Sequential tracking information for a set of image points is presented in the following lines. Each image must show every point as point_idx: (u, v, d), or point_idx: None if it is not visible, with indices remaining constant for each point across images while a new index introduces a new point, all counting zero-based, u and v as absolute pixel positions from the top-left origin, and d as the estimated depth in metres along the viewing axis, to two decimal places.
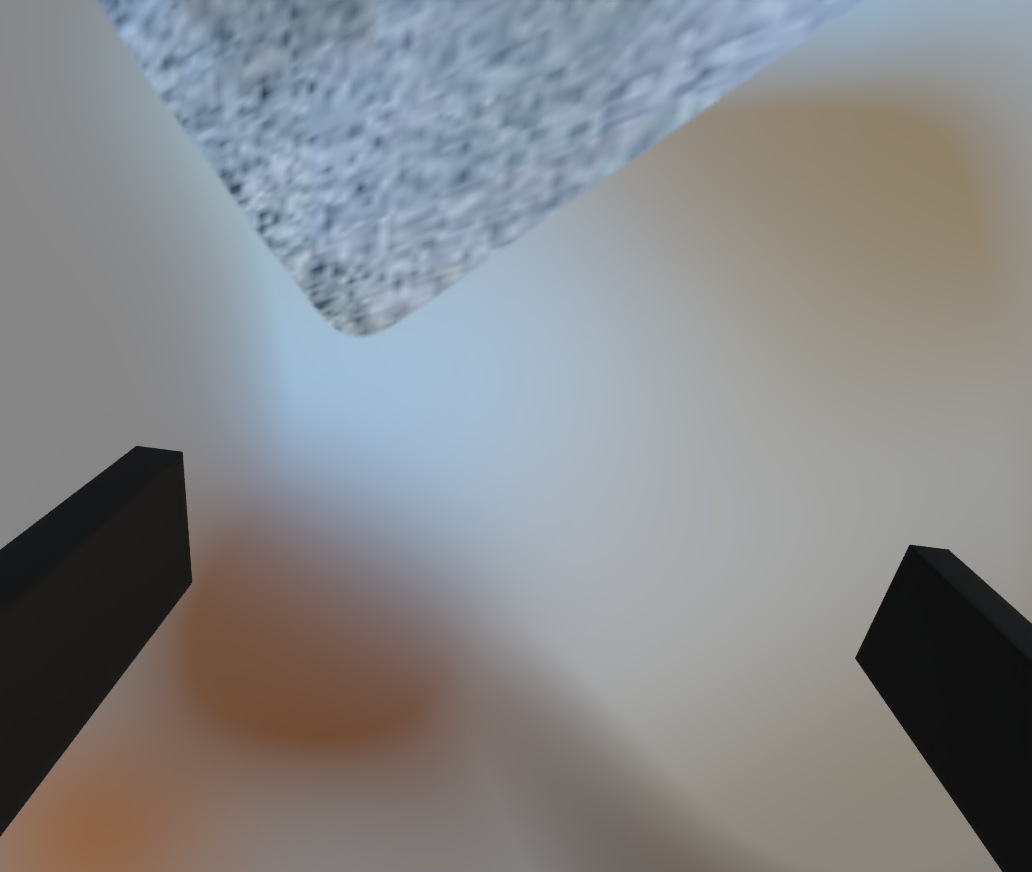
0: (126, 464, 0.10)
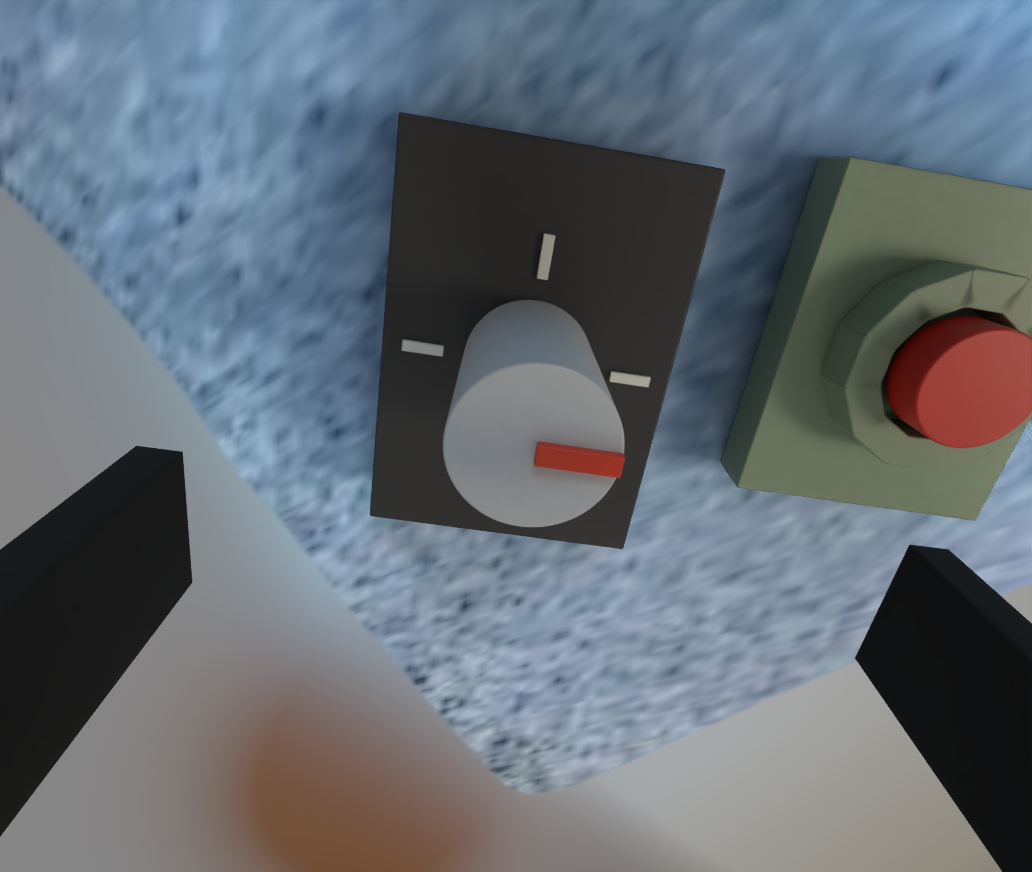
0: (126, 464, 0.10)
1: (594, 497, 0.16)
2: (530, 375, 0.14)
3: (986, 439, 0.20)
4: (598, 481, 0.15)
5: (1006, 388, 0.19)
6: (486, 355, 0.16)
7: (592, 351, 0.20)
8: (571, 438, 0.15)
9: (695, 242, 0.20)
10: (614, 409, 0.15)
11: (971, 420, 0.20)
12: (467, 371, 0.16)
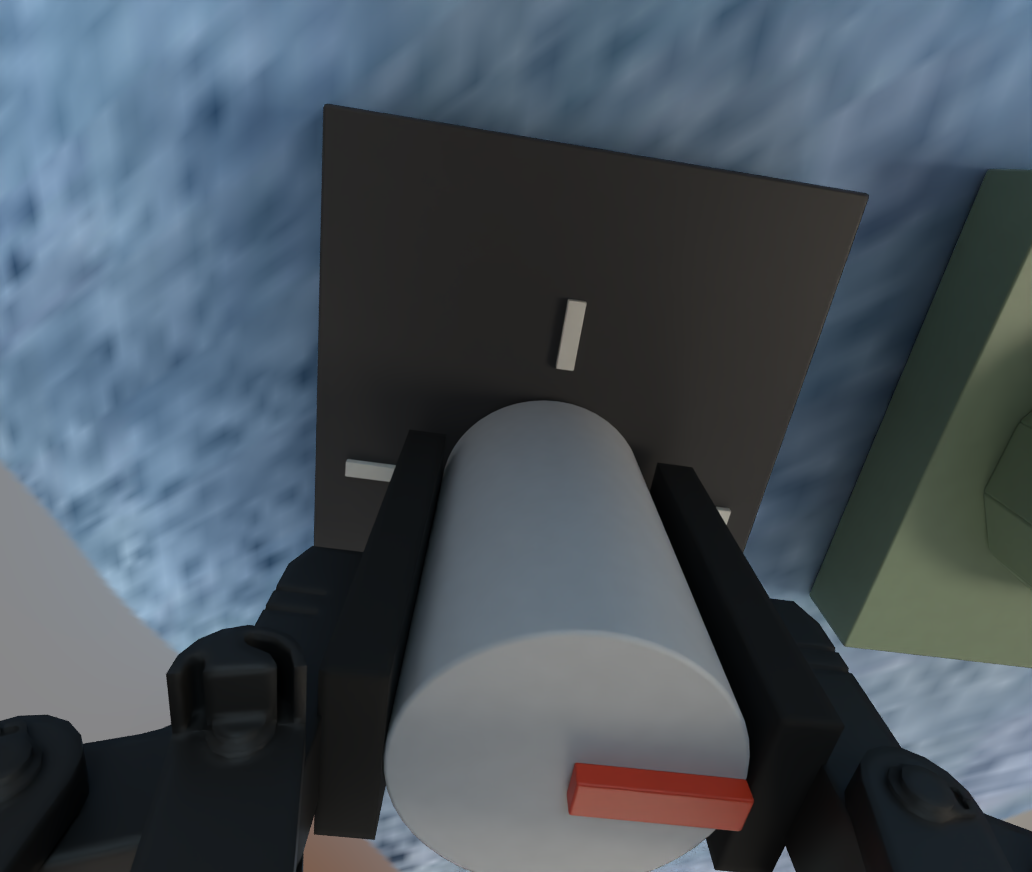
0: (414, 443, 0.12)
1: (683, 845, 0.08)
2: (562, 653, 0.07)
3: None
4: None
5: None
6: (471, 563, 0.08)
7: None
8: (643, 757, 0.07)
9: (812, 310, 0.12)
10: (735, 708, 0.07)
11: None
12: (436, 589, 0.08)
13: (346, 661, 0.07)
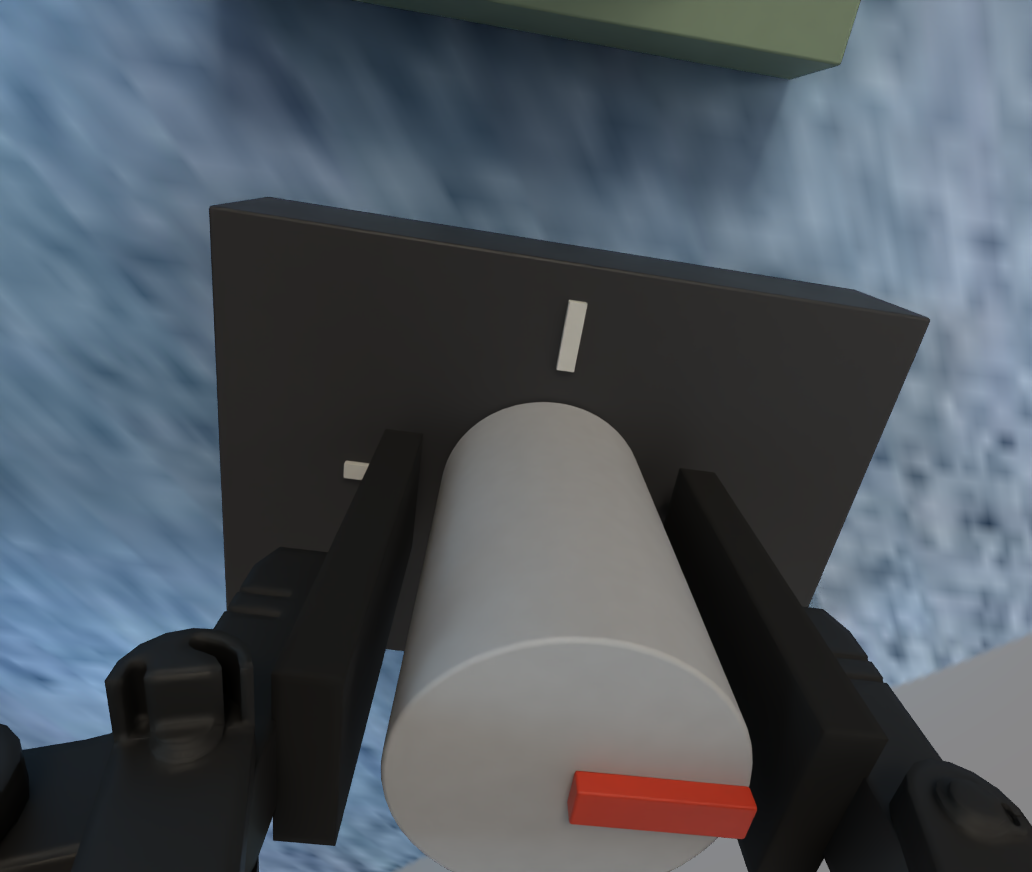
0: (389, 443, 0.12)
1: (686, 853, 0.08)
2: (561, 661, 0.07)
3: None
4: None
5: None
6: (469, 569, 0.08)
7: (649, 493, 0.12)
8: (643, 765, 0.07)
9: (329, 244, 0.12)
10: (737, 715, 0.07)
11: None
12: (433, 595, 0.08)
13: (300, 664, 0.07)
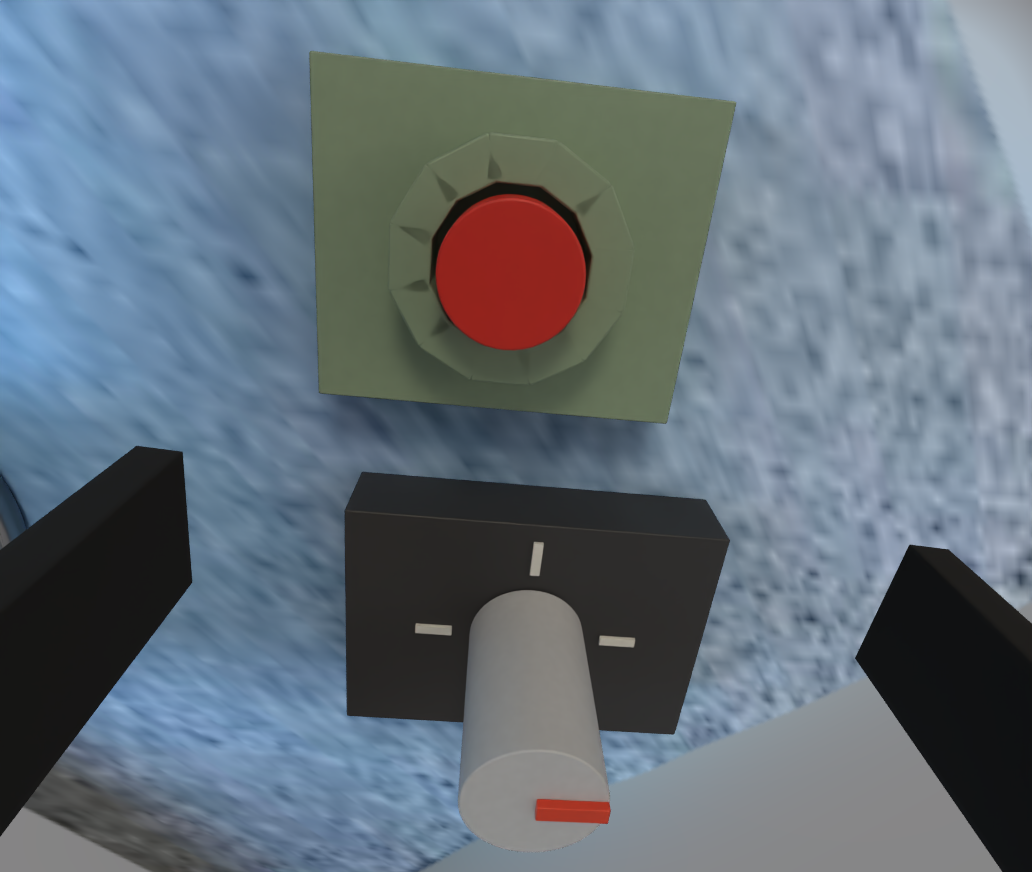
0: (126, 464, 0.10)
1: (587, 831, 0.18)
2: (527, 758, 0.17)
3: (572, 247, 0.16)
4: None
5: (505, 249, 0.16)
6: (489, 712, 0.19)
7: (581, 644, 0.22)
8: (564, 795, 0.18)
9: (407, 524, 0.22)
10: (598, 775, 0.18)
11: (548, 276, 0.16)
12: (474, 722, 0.19)
13: None
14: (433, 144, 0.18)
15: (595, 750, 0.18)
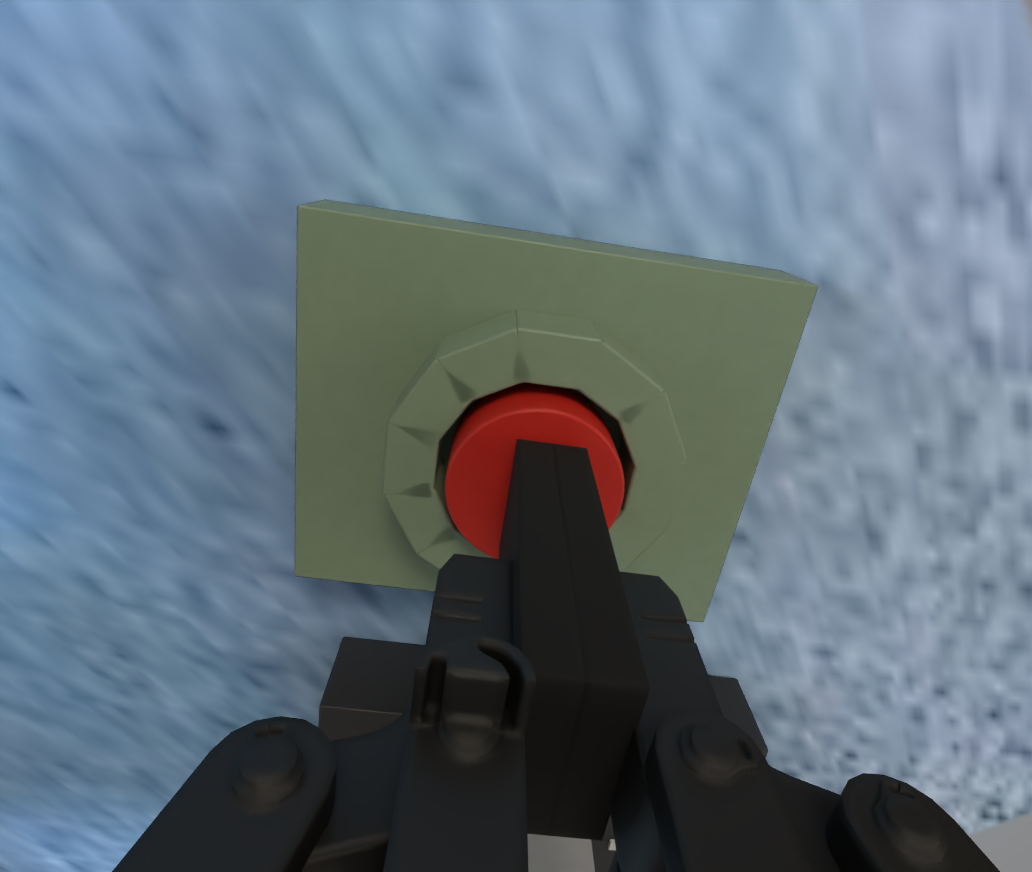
0: (526, 453, 0.12)
1: None
2: None
3: (611, 464, 0.13)
4: None
5: None
6: None
7: (591, 869, 0.19)
8: None
9: None
10: None
11: None
12: None
13: (543, 665, 0.07)
14: (445, 316, 0.15)
15: None
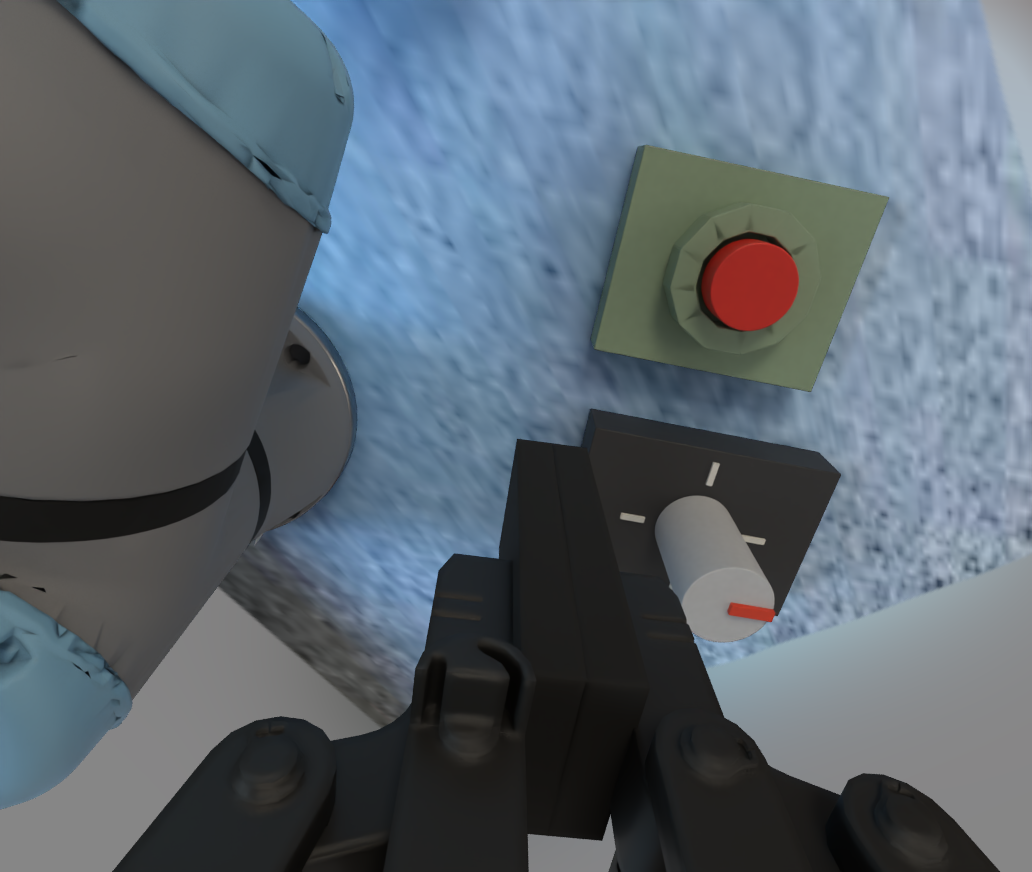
0: (526, 453, 0.12)
1: (755, 629, 0.30)
2: (732, 572, 0.29)
3: (794, 274, 0.28)
4: (758, 621, 0.30)
5: (755, 271, 0.28)
6: (699, 552, 0.30)
7: None
8: (747, 601, 0.29)
9: (633, 441, 0.34)
10: (771, 589, 0.29)
11: (776, 289, 0.28)
12: (688, 558, 0.31)
13: (543, 666, 0.07)
14: (704, 204, 0.30)
15: (766, 578, 0.30)
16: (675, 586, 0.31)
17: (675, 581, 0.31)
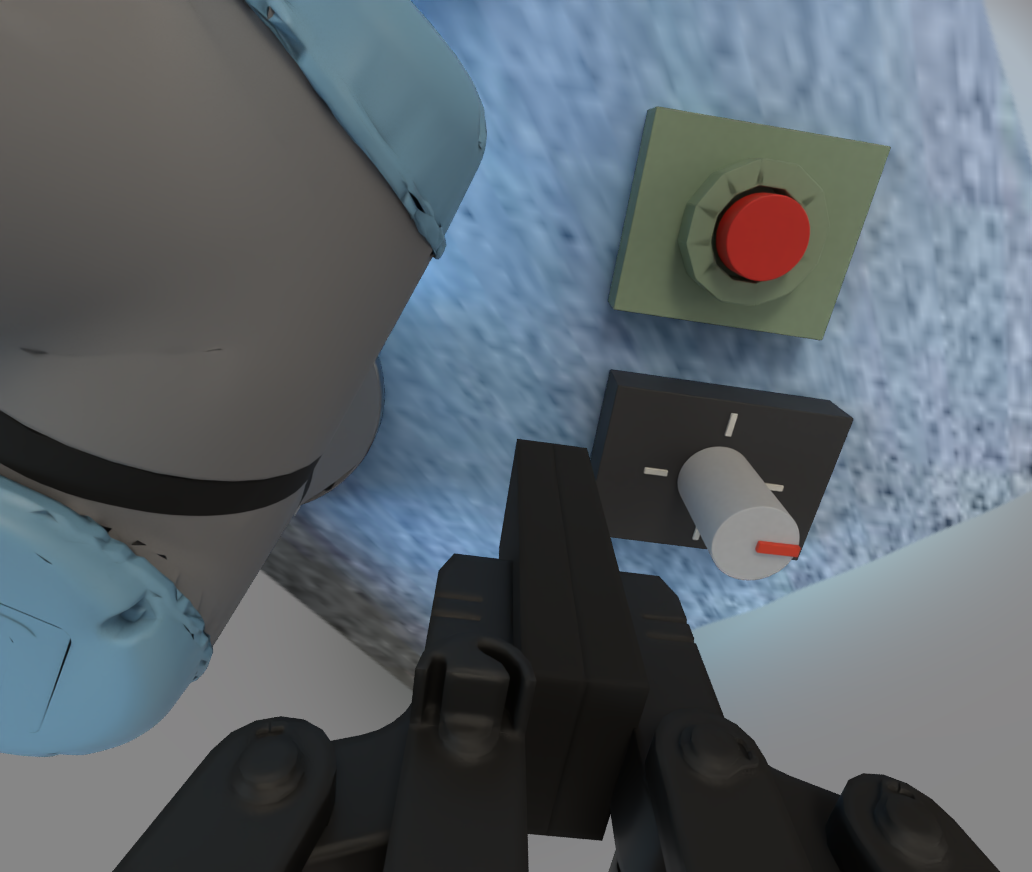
0: (526, 453, 0.12)
1: (782, 565, 0.32)
2: (759, 511, 0.30)
3: (805, 223, 0.29)
4: (784, 558, 0.31)
5: (768, 222, 0.29)
6: (725, 495, 0.32)
7: None
8: (773, 539, 0.31)
9: (654, 396, 0.35)
10: (796, 525, 0.31)
11: (788, 239, 0.30)
12: (714, 503, 0.32)
13: (543, 666, 0.07)
14: (715, 162, 0.31)
15: None
16: (703, 530, 0.32)
17: (703, 525, 0.32)
